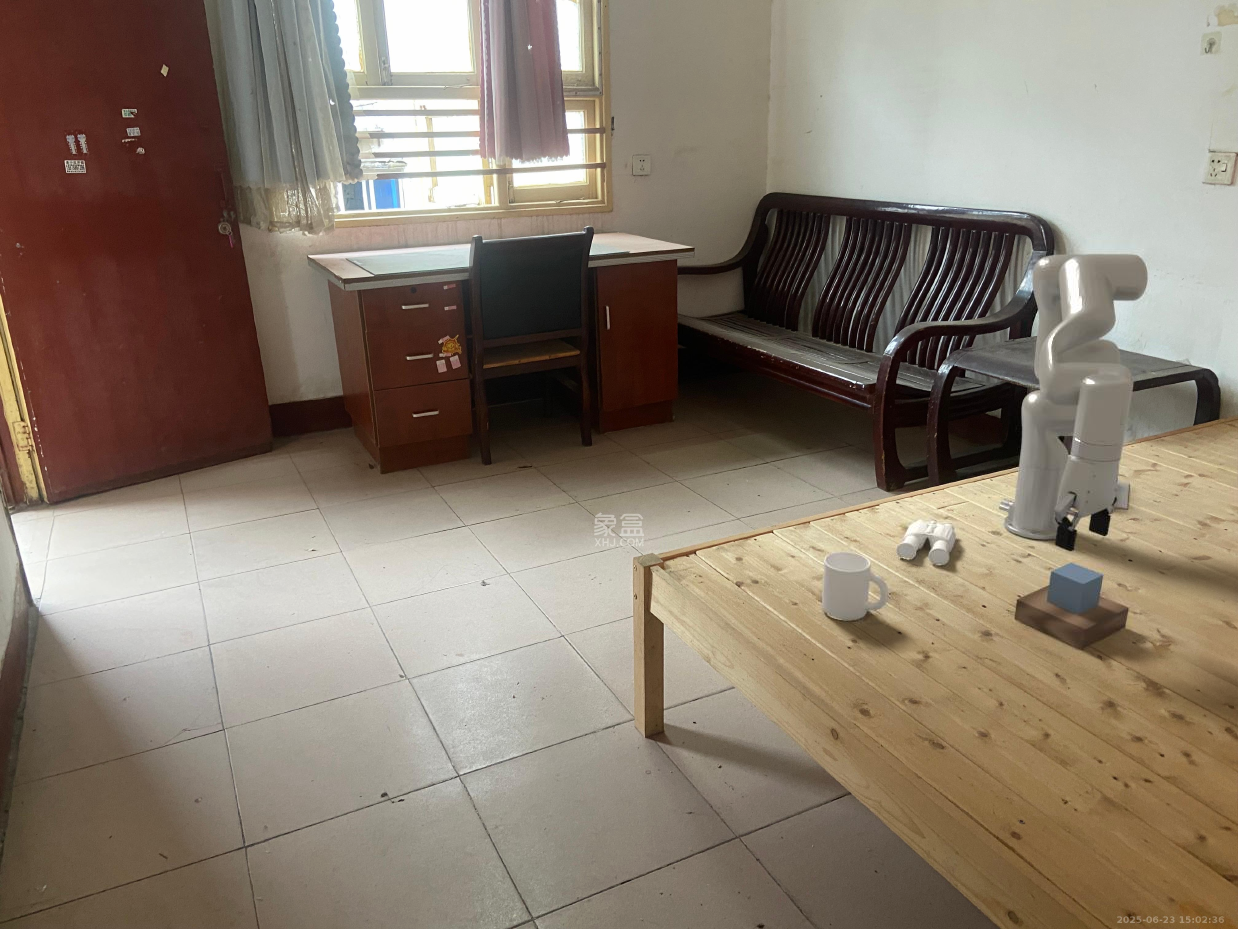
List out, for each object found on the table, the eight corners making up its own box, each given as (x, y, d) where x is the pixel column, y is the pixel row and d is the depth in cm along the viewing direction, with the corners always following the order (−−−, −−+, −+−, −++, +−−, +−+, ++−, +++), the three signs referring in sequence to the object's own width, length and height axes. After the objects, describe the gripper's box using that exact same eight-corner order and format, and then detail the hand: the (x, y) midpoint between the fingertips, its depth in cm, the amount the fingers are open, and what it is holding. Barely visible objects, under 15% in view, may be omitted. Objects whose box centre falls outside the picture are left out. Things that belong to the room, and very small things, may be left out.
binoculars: (895, 560, 189) (896, 539, 187) (909, 531, 202) (911, 512, 201) (947, 569, 184) (949, 548, 183) (959, 539, 198) (961, 519, 196)
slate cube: (1046, 601, 162) (1051, 571, 160) (1066, 592, 165) (1071, 562, 163) (1078, 615, 157) (1083, 584, 155) (1098, 605, 160) (1103, 574, 158)
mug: (892, 612, 168) (897, 561, 165) (878, 632, 162) (882, 580, 158) (830, 596, 174) (833, 548, 171) (814, 615, 168) (817, 565, 164)
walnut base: (1014, 618, 164) (1016, 599, 163) (1057, 598, 171) (1060, 579, 169) (1081, 650, 154) (1085, 629, 153) (1125, 627, 160) (1128, 607, 159)
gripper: (1105, 432, 158) (1090, 520, 165) (1044, 453, 150) (1030, 546, 156) (1147, 443, 152) (1130, 535, 159) (1086, 466, 144) (1071, 562, 150)
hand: (1081, 540), depth 157 cm, fingers open, 9 cm apart
